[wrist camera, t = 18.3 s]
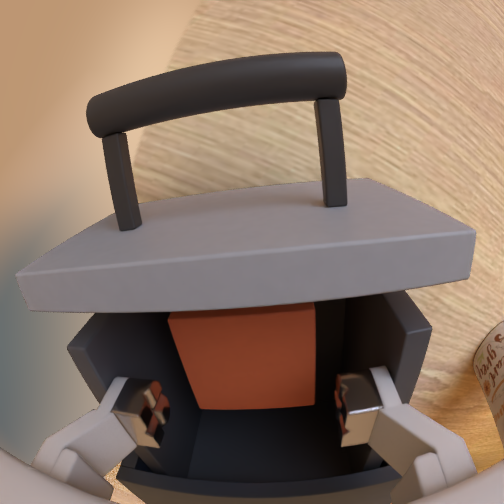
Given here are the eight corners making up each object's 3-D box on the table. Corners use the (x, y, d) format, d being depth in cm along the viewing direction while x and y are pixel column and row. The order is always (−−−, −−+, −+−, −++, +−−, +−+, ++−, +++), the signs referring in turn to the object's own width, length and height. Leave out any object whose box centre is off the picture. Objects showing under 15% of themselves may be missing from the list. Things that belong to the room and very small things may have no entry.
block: (216, 341, 14) (199, 409, 10) (197, 261, 13) (166, 319, 9) (305, 335, 14) (315, 405, 10) (300, 251, 12) (315, 309, 8)
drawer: (112, 120, 12) (-17, 122, 4) (359, 84, 10) (462, 31, 3) (188, 400, 18) (161, 495, 11) (355, 390, 17) (380, 490, 10)
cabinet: (167, 350, 17) (114, 478, 8) (367, 336, 16) (418, 472, 7) (214, 457, 23) (200, 540, 14) (346, 450, 21) (358, 535, 12)
